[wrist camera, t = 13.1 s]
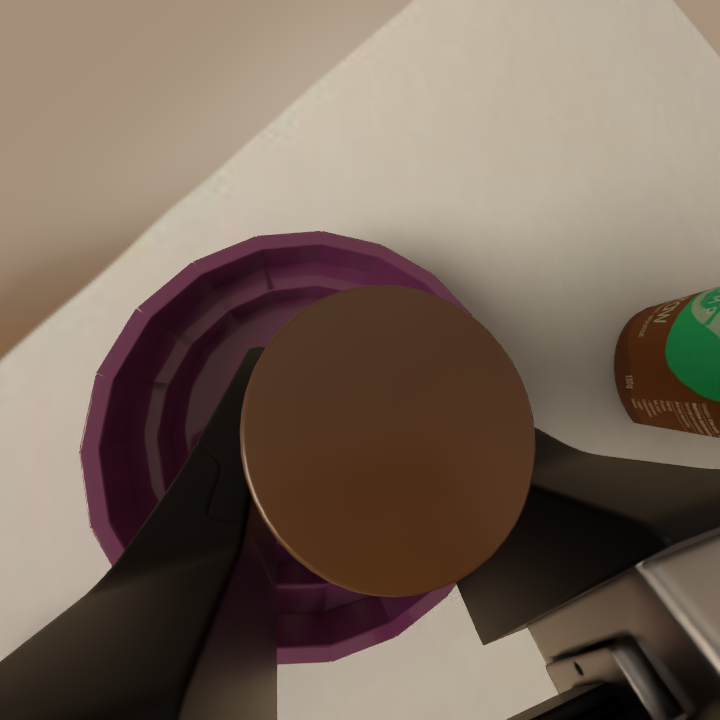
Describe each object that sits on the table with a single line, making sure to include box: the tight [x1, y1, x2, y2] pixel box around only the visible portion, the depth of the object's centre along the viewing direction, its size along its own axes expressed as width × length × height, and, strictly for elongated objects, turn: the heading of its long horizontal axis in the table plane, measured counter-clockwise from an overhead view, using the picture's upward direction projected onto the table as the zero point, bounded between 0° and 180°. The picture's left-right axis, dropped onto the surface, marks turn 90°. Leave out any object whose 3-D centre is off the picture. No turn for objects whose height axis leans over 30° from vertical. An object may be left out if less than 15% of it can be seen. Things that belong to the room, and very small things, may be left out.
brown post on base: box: [240, 285, 536, 597], centre depth 10 cm, size 6×4×13 cm, turn 10°
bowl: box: [79, 231, 474, 664], centre depth 15 cm, size 16×16×4 cm
